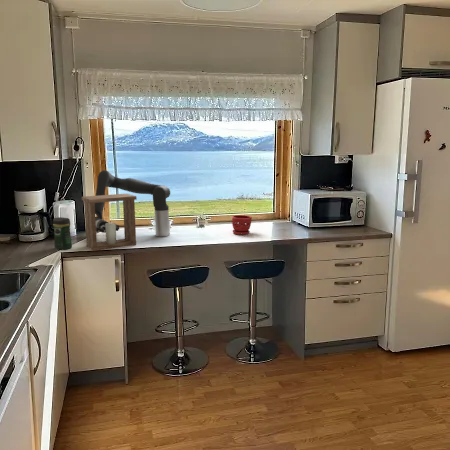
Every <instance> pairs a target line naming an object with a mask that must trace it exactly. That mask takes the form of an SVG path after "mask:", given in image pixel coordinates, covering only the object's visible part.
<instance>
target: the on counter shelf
mask: <svg viewBox="0 0 450 450" xmlns="http://www.w3.org/2000/svg"><path fill="white" fill-rule="evenodd" d="M137 199H138V198H137V196H136V195H133V194H130V193H116V194H105V195H99V196H96V195H90V196H89V195H87V196H81V201H83V205H84V206H83V207H84V220H85V221H84V222H85V223H84V224H85V235H86V236H85V237H86V238H85V239H86V247H88V248H89V249H90V248H91V249H90V250H92V251H93V252H95V251H103V250H108V249H110V250H111V249H116V248H118V249H119V248H123V247H130V246H136V245H137V231H136V230H137V229H136V211H135V209H136V207H135V206H136V205H135V200H136V201H137ZM121 201H122V208H123V230H124V231H123V232H124V238H121V239H120V238H119V239H116V242H117V243H115V244H106V240H103V241H98V240H97V232H96V220H95V217H96V214H95V204H94V203H100V202H105V203H110V202H121Z"/></svg>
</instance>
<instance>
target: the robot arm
mask: <svg viewBox="0 0 450 450" xmlns="http://www.w3.org/2000/svg"><path fill="white" fill-rule="evenodd" d="M106 188H113V189H119V190H122V191H126V192H129V193H132V194H138V195H151V196H152V202H153V203H152V204H153V207H154V223H155V224H154V225H155V226H154V227H155V228H154V229H155V230H154V232H155V236H157V237H168V236H170V234H171V228H170V227H171V226H170V224H171V223H170V222H171V221H170V214H169V211H170V209H169V208H170V207H169V204H167V199H168V198H169V197H170V195H171V190H170V188H169V187H168V186H166V185H161V184H155V183H151V182H146V181H143V180H140V179H136V178H130V177H128V178H120V177H117V176H114V175H113V174H112V173H110V172H109V171H108V170H101V171H100V172H99V173H98V175H97V184H96V189H95V191H96V192H95V196H99V195H106ZM94 204H95V220H96V233H99V232H100V233H105V234H106V227H105V224H106V223H110V222H109V221H107V220H105V219H103V216H104V215H103V213H104V208H105V204H106V202H100V203H94ZM119 230H120V225H119V224H116V232H119Z"/></svg>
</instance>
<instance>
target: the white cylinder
mask: <svg viewBox="0 0 450 450" xmlns="http://www.w3.org/2000/svg"><path fill="white" fill-rule="evenodd" d="M116 225H117V223H116V222H109V223H106V224H105V227H106V233H105V241H106V244H115V243H117V242H116V240H117V231H116Z"/></svg>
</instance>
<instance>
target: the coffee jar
mask: <svg viewBox="0 0 450 450" xmlns="http://www.w3.org/2000/svg"><path fill="white" fill-rule="evenodd" d="M52 226H53V232H54V233H53V234H54V249H56V250H62V249H63V250H70V249H71V248H73V243H72V242H73V241H72V236H71V219H70V218H68V217H63V216H62V217H61V216H59V217H54V218H53V219H52Z"/></svg>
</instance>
